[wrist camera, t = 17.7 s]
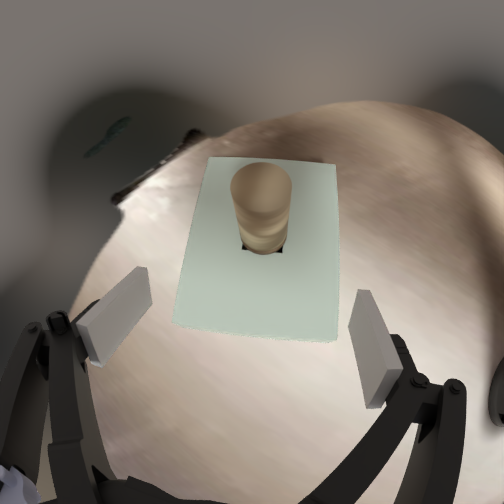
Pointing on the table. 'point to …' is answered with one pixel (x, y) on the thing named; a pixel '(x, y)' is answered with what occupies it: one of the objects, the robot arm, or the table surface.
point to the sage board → (263, 261)
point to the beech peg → (262, 206)
